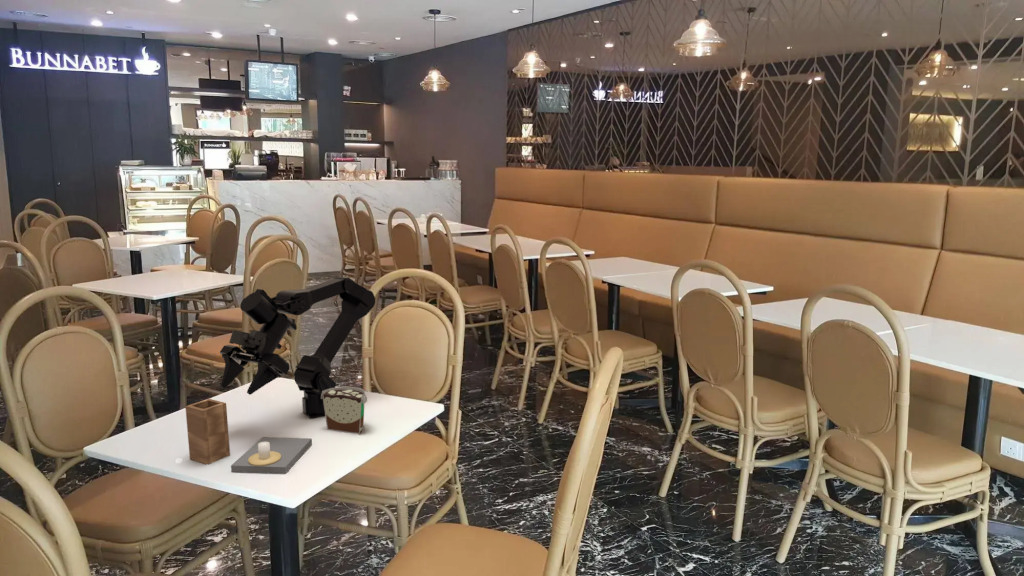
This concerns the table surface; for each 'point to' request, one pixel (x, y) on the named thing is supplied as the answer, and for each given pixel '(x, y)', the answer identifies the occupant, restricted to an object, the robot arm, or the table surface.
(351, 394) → the food container
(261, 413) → the table surface
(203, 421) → the wooden pencil cup
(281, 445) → the post stand
